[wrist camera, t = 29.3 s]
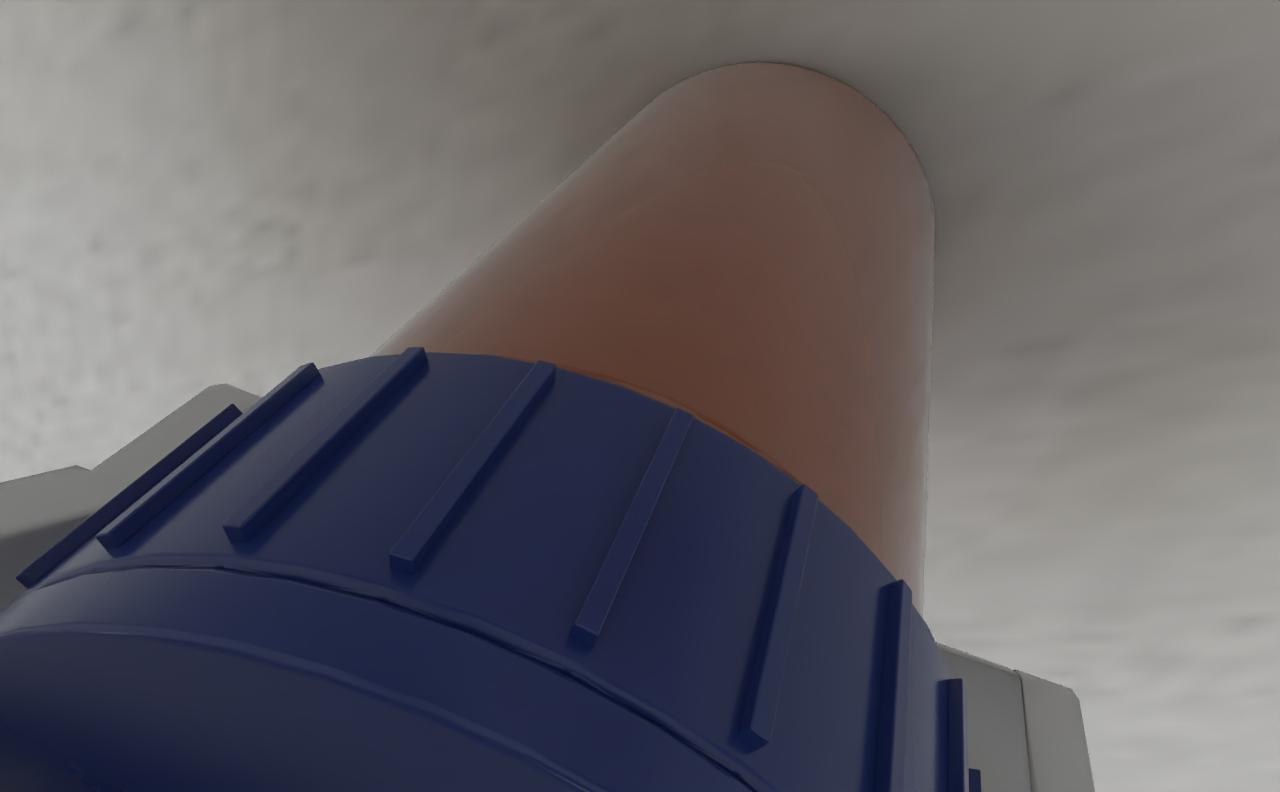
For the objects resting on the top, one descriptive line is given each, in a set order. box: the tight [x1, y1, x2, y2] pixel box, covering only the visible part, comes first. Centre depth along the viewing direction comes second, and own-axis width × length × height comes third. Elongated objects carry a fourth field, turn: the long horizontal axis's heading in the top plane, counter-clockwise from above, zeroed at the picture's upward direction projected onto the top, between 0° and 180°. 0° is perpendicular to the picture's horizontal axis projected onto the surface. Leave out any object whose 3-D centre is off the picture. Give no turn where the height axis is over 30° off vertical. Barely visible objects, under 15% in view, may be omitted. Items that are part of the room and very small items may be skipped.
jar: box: [369, 62, 935, 618], centre depth 10 cm, size 5×5×11 cm
